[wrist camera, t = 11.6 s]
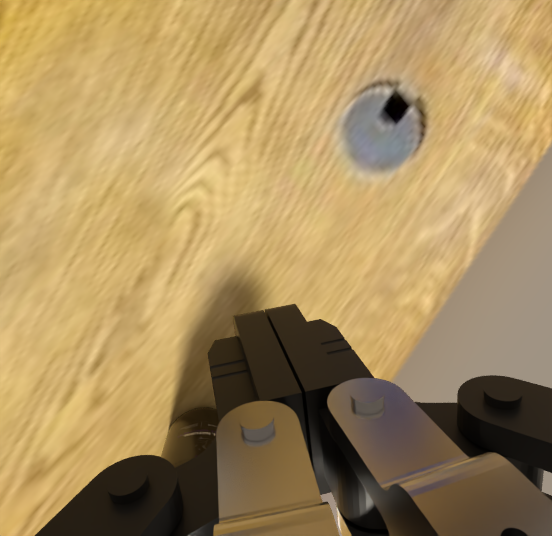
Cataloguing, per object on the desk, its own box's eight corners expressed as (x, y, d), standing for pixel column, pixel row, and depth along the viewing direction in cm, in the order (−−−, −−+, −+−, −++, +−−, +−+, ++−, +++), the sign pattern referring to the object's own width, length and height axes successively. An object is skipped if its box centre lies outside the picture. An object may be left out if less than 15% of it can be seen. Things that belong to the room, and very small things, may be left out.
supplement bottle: (216, 390, 42) (210, 478, 30) (258, 448, 43) (267, 554, 32) (150, 430, 42) (117, 533, 30) (193, 487, 44) (178, 606, 32)
